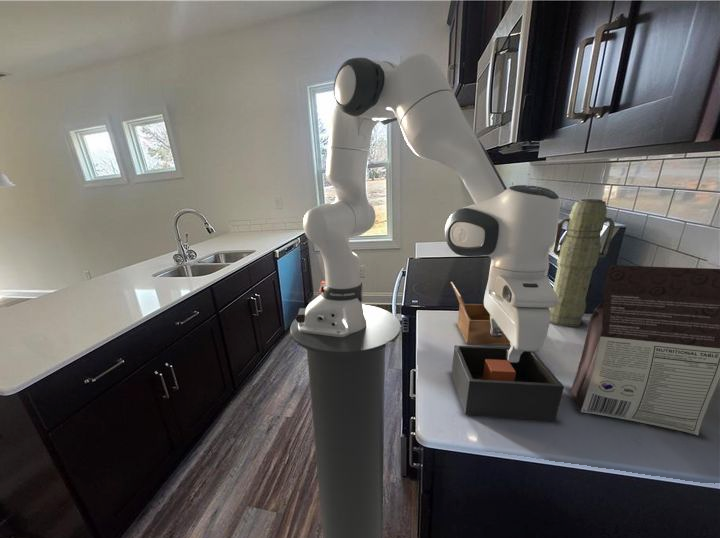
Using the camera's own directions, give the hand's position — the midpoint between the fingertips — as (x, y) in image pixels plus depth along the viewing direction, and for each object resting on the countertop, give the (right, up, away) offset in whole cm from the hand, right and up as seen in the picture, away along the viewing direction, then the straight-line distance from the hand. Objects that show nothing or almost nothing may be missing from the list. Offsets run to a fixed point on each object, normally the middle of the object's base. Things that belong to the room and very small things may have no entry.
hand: (503, 347), depth 62 cm
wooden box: (+12, -1, +28) cm, 31 cm away
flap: (+3, +10, +26) cm, 28 cm away
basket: (+1, -11, +4) cm, 11 cm away
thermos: (+38, +3, +34) cm, 51 cm away
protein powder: (+22, -12, -2) cm, 25 cm away
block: (+1, -10, +4) cm, 11 cm away
